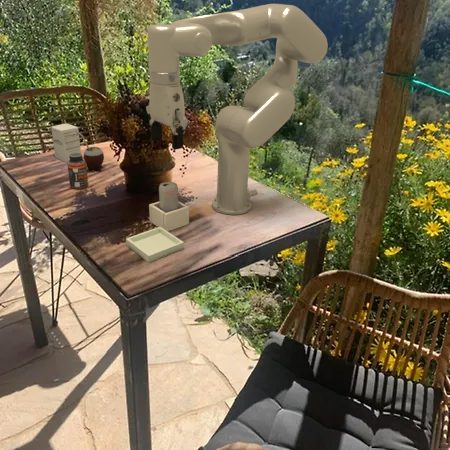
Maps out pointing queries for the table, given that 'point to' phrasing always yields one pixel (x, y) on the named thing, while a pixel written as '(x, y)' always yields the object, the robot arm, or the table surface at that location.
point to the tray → (154, 244)
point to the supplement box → (65, 141)
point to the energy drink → (168, 196)
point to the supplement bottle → (77, 171)
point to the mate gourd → (93, 157)
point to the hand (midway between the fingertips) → (167, 143)
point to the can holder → (169, 216)
